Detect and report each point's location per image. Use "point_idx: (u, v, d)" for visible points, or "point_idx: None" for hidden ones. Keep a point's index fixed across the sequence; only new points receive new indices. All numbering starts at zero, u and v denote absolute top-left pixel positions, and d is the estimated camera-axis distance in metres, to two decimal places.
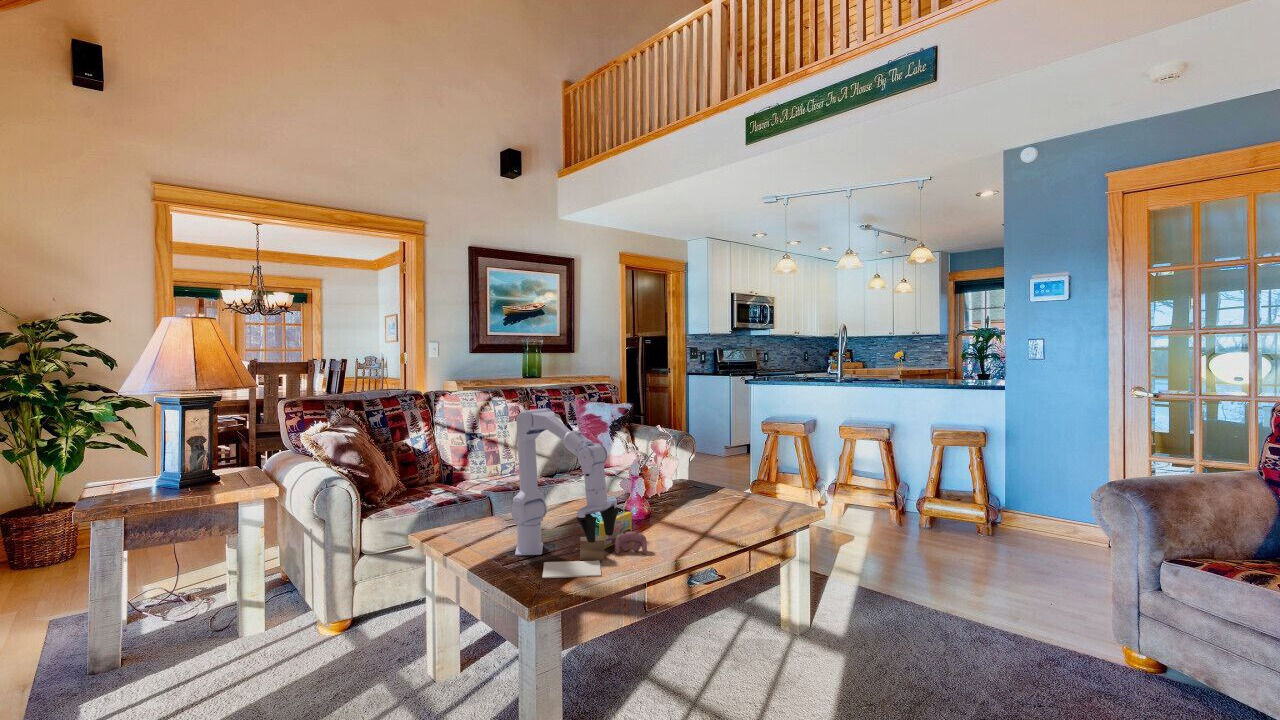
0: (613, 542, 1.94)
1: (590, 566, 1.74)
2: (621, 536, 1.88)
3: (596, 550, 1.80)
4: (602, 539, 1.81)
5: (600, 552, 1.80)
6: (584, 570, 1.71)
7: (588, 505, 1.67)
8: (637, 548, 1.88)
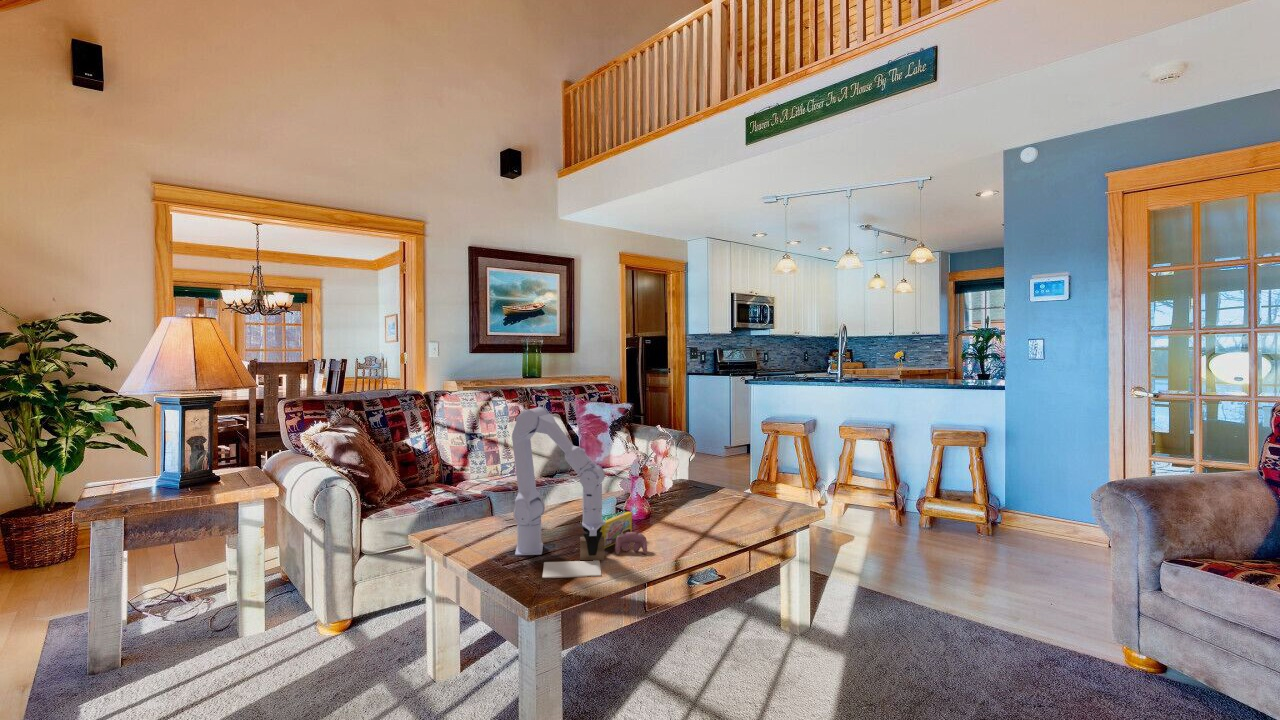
0: (613, 542, 1.94)
1: (590, 566, 1.74)
2: (621, 536, 1.88)
3: None
4: (602, 539, 1.81)
5: (600, 552, 1.80)
6: (584, 570, 1.71)
7: (589, 523, 1.79)
8: (637, 548, 1.88)
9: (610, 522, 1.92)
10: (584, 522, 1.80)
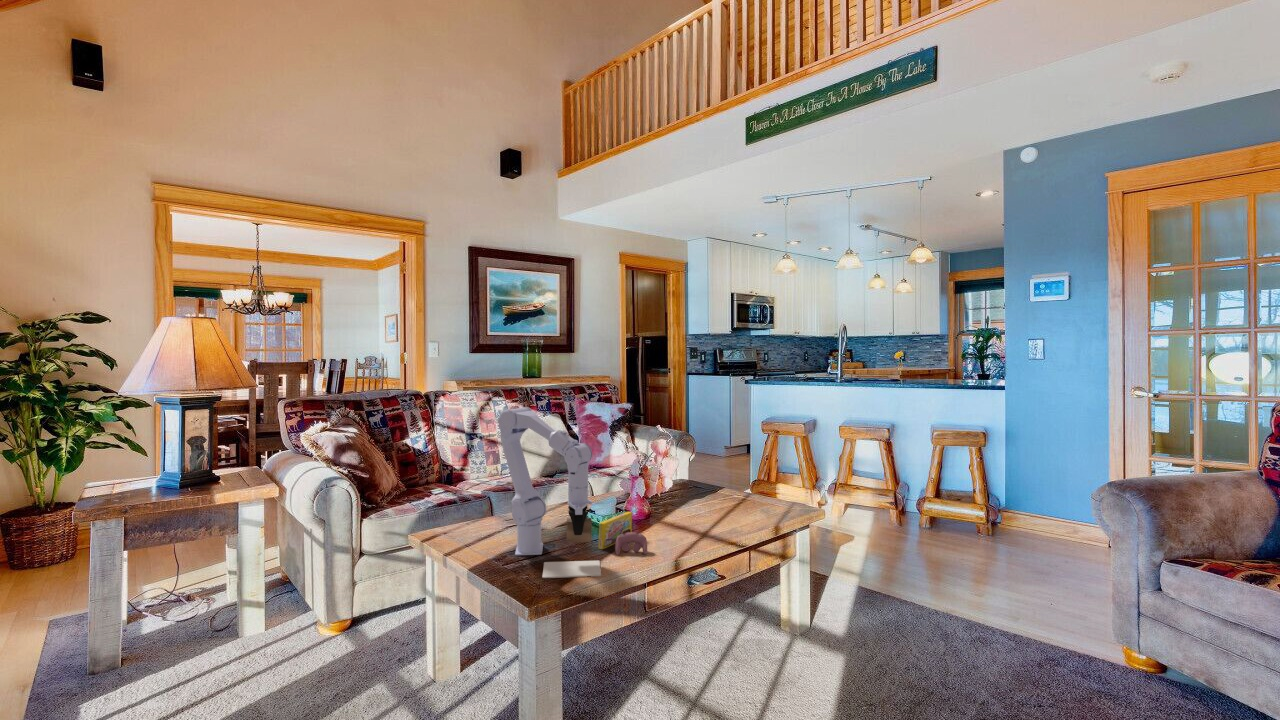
0: (613, 542, 1.94)
1: (590, 566, 1.74)
2: (621, 537, 1.87)
3: (583, 531, 1.77)
4: (589, 520, 1.78)
5: (587, 533, 1.77)
6: (584, 570, 1.71)
7: (575, 502, 1.75)
8: (637, 549, 1.87)
9: (610, 522, 1.92)
10: (570, 501, 1.76)
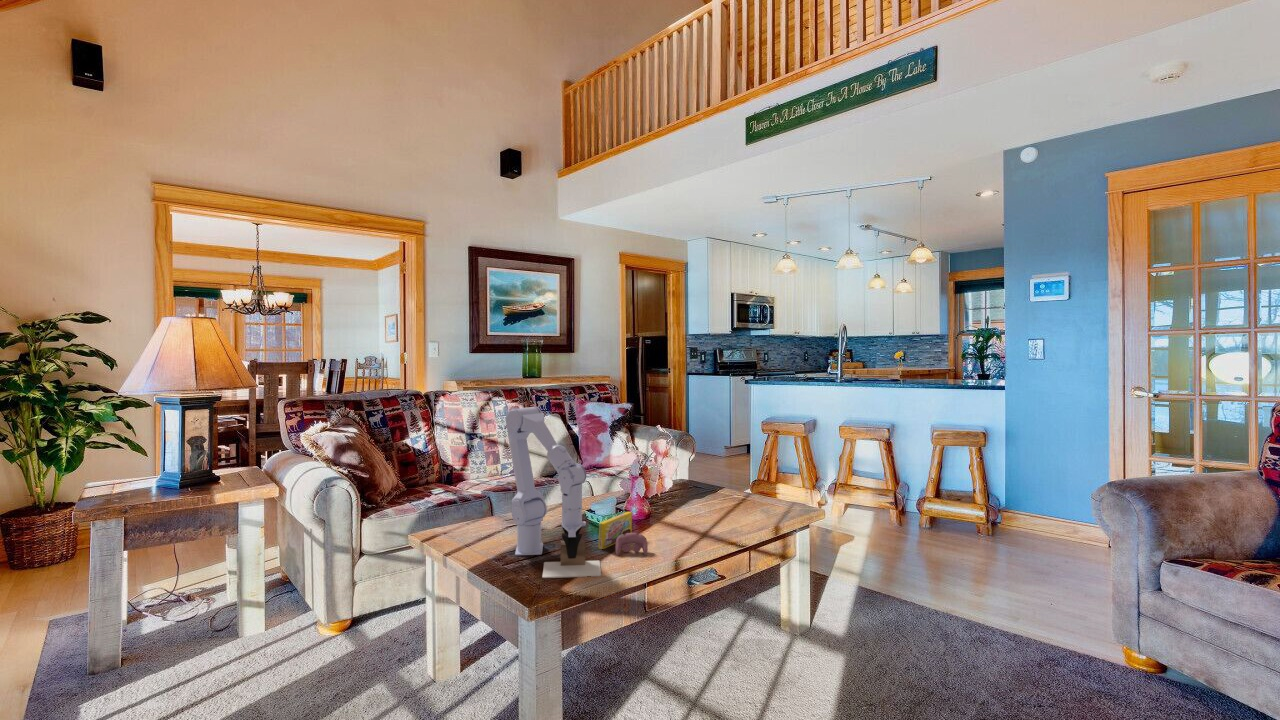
0: (613, 542, 1.94)
1: (590, 566, 1.74)
2: (621, 537, 1.87)
3: (577, 554, 1.75)
4: (583, 543, 1.76)
5: (581, 556, 1.75)
6: (584, 570, 1.71)
7: (569, 524, 1.74)
8: (638, 549, 1.87)
9: (610, 522, 1.92)
10: (563, 523, 1.75)
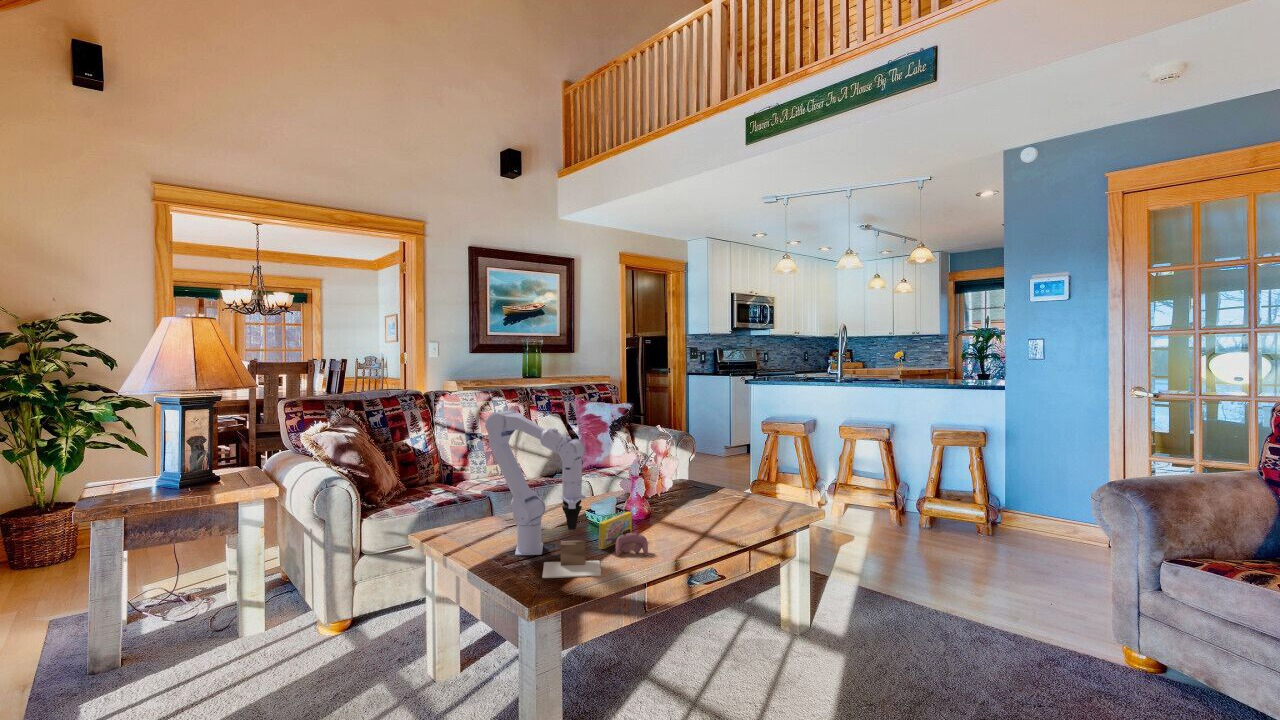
0: (613, 542, 1.94)
1: (590, 566, 1.74)
2: (622, 538, 1.86)
3: (577, 554, 1.75)
4: (583, 543, 1.76)
5: (581, 556, 1.75)
6: (584, 570, 1.71)
7: (569, 497, 1.79)
8: (638, 550, 1.87)
9: (610, 522, 1.92)
10: (564, 496, 1.80)
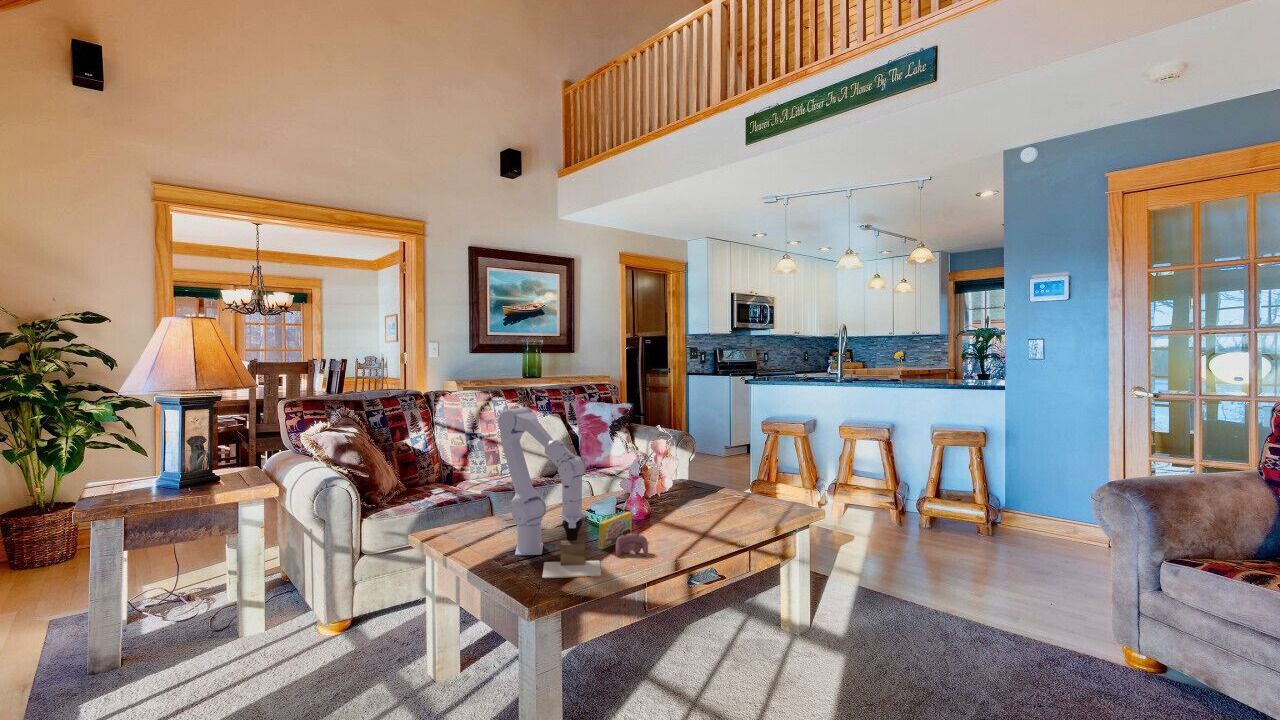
0: (613, 542, 1.94)
1: (590, 566, 1.74)
2: (622, 538, 1.86)
3: (577, 554, 1.75)
4: (583, 543, 1.76)
5: (581, 557, 1.75)
6: (584, 570, 1.71)
7: (569, 515, 1.76)
8: (638, 550, 1.86)
9: (610, 522, 1.92)
10: (563, 514, 1.77)
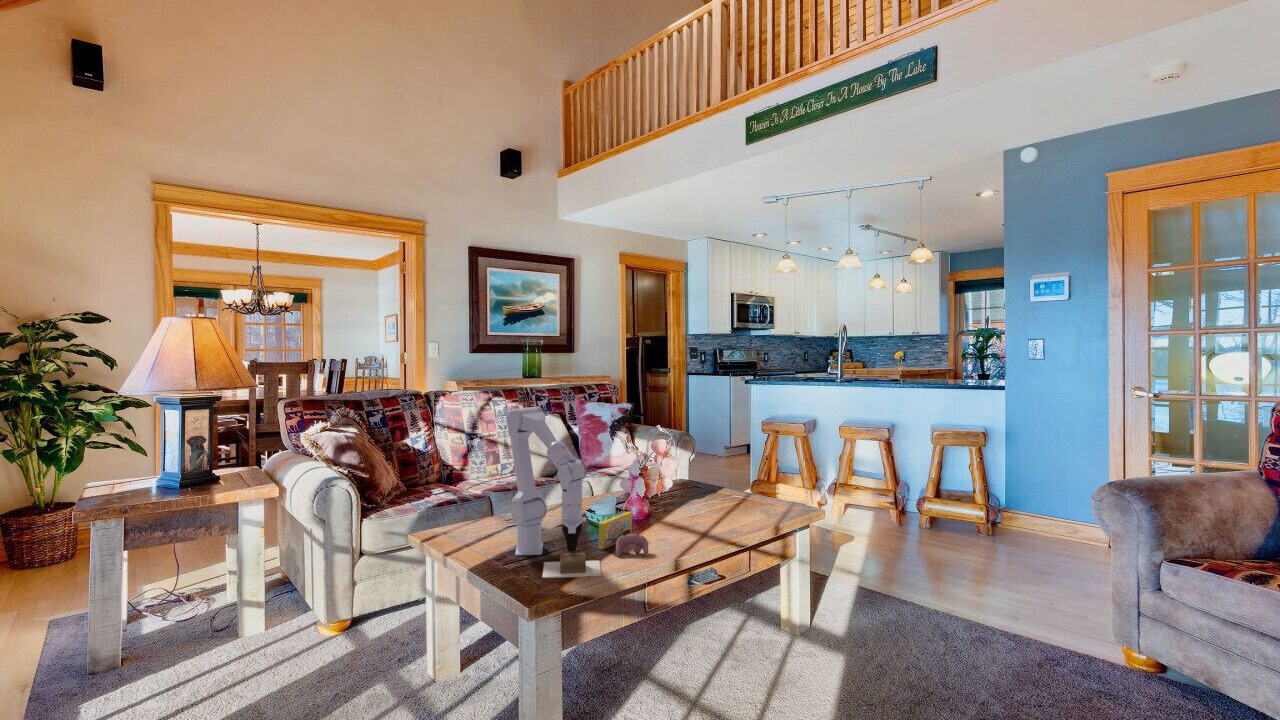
0: (613, 542, 1.94)
1: (590, 566, 1.74)
2: (622, 538, 1.86)
3: None
4: (583, 569, 1.69)
5: None
6: None
7: (569, 520, 1.72)
8: (638, 550, 1.86)
9: (610, 522, 1.92)
10: (563, 519, 1.73)
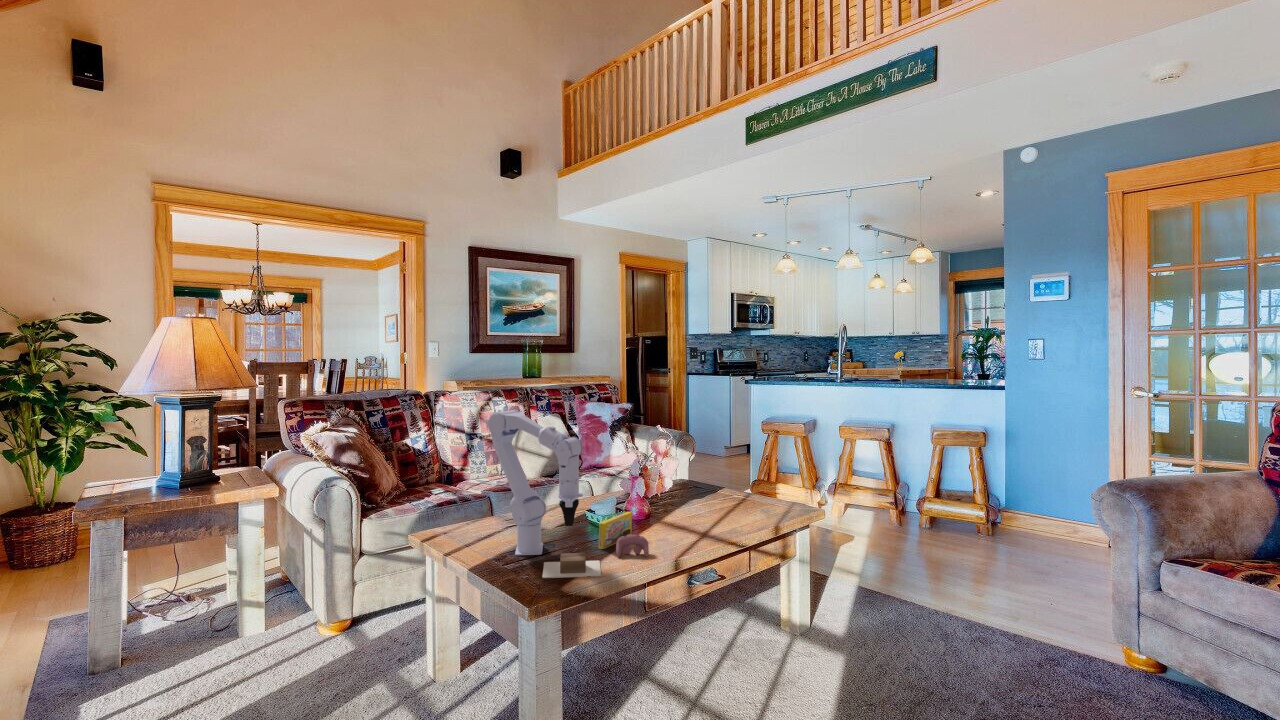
0: (613, 542, 1.94)
1: (590, 566, 1.74)
2: (622, 539, 1.85)
3: None
4: (583, 569, 1.69)
5: None
6: None
7: (566, 495, 1.77)
8: (638, 551, 1.85)
9: (610, 522, 1.92)
10: (560, 494, 1.78)
